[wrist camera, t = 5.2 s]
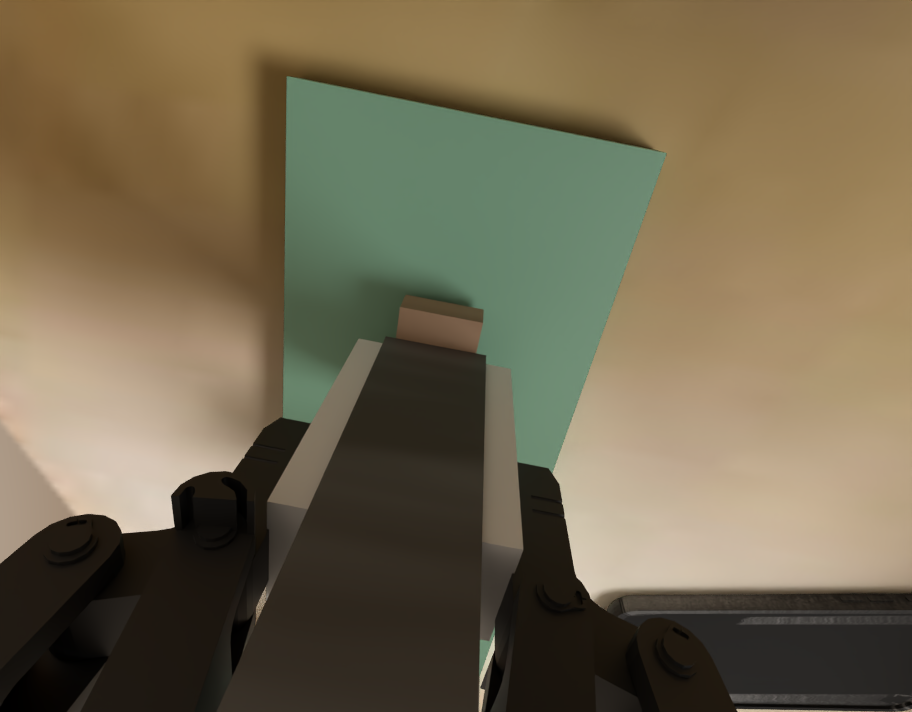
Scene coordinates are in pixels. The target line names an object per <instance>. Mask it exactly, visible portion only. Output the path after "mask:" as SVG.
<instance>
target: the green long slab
mask: <svg viewBox="0 0 912 712" xmlns="http://www.w3.org/2000/svg"><path fill="white" fill-rule="evenodd" d="M666 154H667V153H664V152H661V151H658V150H654V149H649V148H644V147H639V146H634V145H629V144H624V143H619V142H614V141H609V140H604V139H599V138H595V137H590V136H585V135H580V134H575V133H570V132H565V131H560V130H555V129H550V128H545V127H540V126H535V125H530V124H525V123H521V122H516V121H511V120H506V119H501V118H496V117H491V116H486V115H481V114H476V113H471V112H466V111H461V110H456V109H452V108H447V107H442V106H437V105H432V104H427V103H422V102H417V101H412V100H407V99H402V98H397V97H392V96H387V95H382V94H378V93H373V92H368V91H363V90H358V89H353V88H348V87H343V86H338V85H333V84H328V83H323V82H318V81H313V80H309V79H304V78H298V77H289V76H287V95H286V184H285V273H284V362H283V418H286V419H291V420H297V421H302V422H307V423H311V422H312V421H313V419H314V417H315V415H316V414H317V412H318V410H319V408H320V406H321V405H322V403H323V401H324V399H325V398H326V396H327V394H328V392H329V391H330V389H331V387H332V385H333V383H334V382H335V380H336V378H337V376H338V375H339V373H340V371H341V369H342V367H343V366H344V364H345V362H346V360H347V359H348V357H349V355H350V353H351V351H352V350H353V348H354V346H355V344H356V343H357V341H358V339H364V340H369V341H374V342H379V343H383V341H384V339H385V337H386V336H387V337H393V338H396V334H397V326H398V319H399V311H400V306H401V304H402V302H403V299H404V297H405V295H410V296H416V297H421V298H426V299H431V300H436V301H442V302H447V303H452V304H457V305H462V306H468V307H473V308H478V309H483V310H484V313H483V326H482V330H481V334H480V339H479V343H478V348H477V352H476V353H477V354H482V355H486V364H489V365H494V366H499V367H504V368H509V369H511V380H512V394H513V408H514V423H515V437H516V451H517V462H520V463H525V464H530V465H535V466H540V467H545V468H549V470H550V471H551V473H552V472H553V470H554V467H555V464H556V461H557V458H558V456H559V453H560V450H561V447H562V444H563V442H564V439H565V436H566V433H567V431H568V428H569V425H570V422H571V419H572V417H573V414H574V411H575V408H576V405H577V403H578V400H579V397H580V394H581V391H582V389H583V386H584V383H585V380H586V377H587V375H588V372H589V369H590V366H591V363H592V361H593V358H594V355H595V352H596V349H597V347H598V344H599V341H600V338H601V336H602V333H603V330H604V327H605V324H606V322H607V319H608V316H609V313H610V310H611V308H612V305H613V302H614V299H615V296H616V294H617V291H618V288H619V285H620V282H621V280H622V277H623V274H624V271H625V268H626V266H627V263H628V260H629V257H630V254H631V252H632V249H633V246H634V243H635V240H636V238H637V235H638V232H639V229H640V227H641V224H642V221H643V218H644V215H645V213H646V210H647V207H648V204H649V201H650V199H651V196H652V193H653V190H654V187H655V185H656V182H657V179H658V176H659V173H660V171H661V168H662V165H663V162H664V159H665V157H666ZM494 635H495V627H494V630H493V633H492V635H491V638H490V641H486V640H480V662H479V682H480V674H481V671H482V668H483V665H484V662H485V660H486V657H487V654H488V651H489V649H490V646H491V643H492V640H493V637H494ZM478 712H479V707H478Z"/></svg>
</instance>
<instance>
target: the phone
mask: <svg viewBox="0 0 912 712" xmlns="http://www.w3.org/2000/svg"><path fill="white" fill-rule="evenodd" d="M607 612H609V613H611V614H613V615H615V616H617V617H619V618H621V619H623V620H625V621H627V622H629V623H631V624H633V625H635V626H637V627H639V626H640V625H641V624H642V623H643V622H645V621H646V620H647V619H650V618H659V617H661V618H665V619H668V620H672V621H675V622H677V623H678V624H680V625H682V626H683V627H685V628H686V629H688V630H690V631H691V632H692V633H693V634H694V635H695V636H696V637H697V638H698V639H699V640H700V641H701V642H702V643H703V645H704V646H705V648H706V649H707V651H708V652H709V654H710V656H711V657H712V659H713V661H714V663H715V665H716V667H717V670H718V672H719V674H720V676H721V678H722V680H723V682H724V684H725V687H726V689H727V691H728V693H729V695H730V697H731V699H732V701H733V704H734V706H735V708H736V709H777V710H831V711H885V712H896V711H905V710H910V709H912V594H767V595H633V596H625V597H622V598H619V599H617V600H615V601H614V602H612V603H611V604H610V605H609V607H608V609H607Z"/></svg>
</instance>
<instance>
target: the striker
mask: <svg viewBox="0 0 912 712" xmlns="http://www.w3.org/2000/svg"><path fill="white" fill-rule="evenodd" d="M483 313H484V310H483V309H478V308H473V307H468V306H462V305H457V304H452V303H447V302H442V301H436V300H431V299H426V298H421V297H416V296H410V295H405V297H404V299H403V302H402V304H401V306H400V311H399V319H398V326H397V334H396V338H393V337H387V336H386V337H385V339H384V341H383V344H382V346H381V348H380V350H379V352H378V355H377V357H376V359H375V361H374V364H373V366H372V368H371V370H370V372H369V375H368V377H367V379H366V381H365V383H364V386H363V388H362V390H361V392H360V395H359V397H358V399H357V401H356V403H355V406H354V408H353V410H352V412H351V415H350V417H349V419H348V421H347V423H346V426H345V428H344V430H343V432H342V434H341V437H340V439H339V441H338V443H337V446H336V448H335V450H334V452H333V454H332V457H331V459H330V461H329V463H328V465H327V468H326V470H325V472H324V474H323V477H322V479H321V481H320V483H319V485H318V488H317V490H316V492H315V494H314V497H313V499H312V501H311V503H310V505H309V508H308V510H307V512H306V514H305V516H304V519H303V521H302V523H301V525H300V528H299V530H298V532H297V534H296V536H295V539H294V541H293V543H292V545H291V547H290V550H289V552H288V554H287V556H286V559H285V561H284V563H283V565H282V567H281V570H280V572H279V574H278V576H277V579H276V581H275V583H274V585H273V587H272V590H271V592H270V594H269V596H268V598H267V601H266V603H265V605H264V607H263V610H262V612H261V614H260V616H259V618H258V621H257V623H256V625H255V627H254V629H253V632H252V634H251V636H250V638H249V641H248V643H247V645H246V647H245V649H244V652H243V654H242V656H241V658H240V661H239V663H238V665H237V667H236V669H235V672H234V674H233V676H232V678H231V680H230V683H229V685H228V687H227V689H226V692H225V694H224V696H223V698H222V700H221V703H220V705H219V707H218V709H217V711H216V712H478V707H479V662H480V616H481V571H482V525H483V480H484V434H485V388H486V355H482V354H477V353H476V352H477V348H478V343H479V339H480V334H481V330H482V326H483Z"/></svg>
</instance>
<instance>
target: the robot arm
mask: <svg viewBox="0 0 912 712" xmlns="http://www.w3.org/2000/svg"><path fill="white" fill-rule="evenodd" d="M382 344H383V343H379V342H374V341H369V340H364V339H358V341H357V343H356V344H355V346H354V348H353V350H352V351H351V353H350V355H349V357H348V359H347V360H346V362H345V364H344V366H343V367H342V369H341V371H340V373H339V375H338V376H337V378H336V380H335V382H334V383H333V385H332V387H331V389H330V391H329V392H328V394H327V396H326V398H325V399H324V401H323V403H322V405H321V406H320V408H319V410H318V412H317V414H316V415H315V417H314V419H313V421H312V422H311V423H307V422H302V421H297V420H291V419H286V418H279V419H278V420H276V421H275V422H273V423H272V424H270V425H268V426H267V427H265V428H264V429H263V430H262V432H261V433H260V434H259V436H258V437H257V439H256V440H255V442H254V443H253V446H251V447H250V449H249V450H248V452H247V453H246V454H245V457H244V459H242V460H241V462H240V463H239V465H238V466H237V467H236V469H235V470H234V472H233V473H231V472H227V471H223V472H209V473H205V474H202V475H199V476H195V477H193V478H191V479H190V480H188V481H186V482H185V483H183V484H181V485H180V486H179V487H178V488H177V489H176V491H175V492H174V493H173V494H172V495H171V499H172V508H173V516H174V525H175V527H174V528H171V529H165V530H159V531H148V532H135V533H123V534H122V532H121V530H120V528H119V526H118V524H117V522H116V521H114V520H112V519H110V518H108V517H106V516H104V515H94V514H85V515H79V516H73V517H69V518H66V519H64V520H61V521H58V522H56V523H53V524H51V525H49V526H48V527H46V528H45V529H43V530H42V531H40V532H38V533H37V534H36V535H34V536H33V537H32V538H30V539H29V540H28V541H27V542H26V543H25V544H23V545H22V546H21V547H20V548H19V549H17V550H16V551H15V552H14V553H13V554H11V555H10V556H9V557H8V558H7V559H5V560H4V561H3V562H2V563H1V564H0V712H216V711H217V709H218V707H219V705H220V703H221V700H222V698H223V696H224V694H225V692H226V689H227V687H228V685H229V683H230V680H231V678H232V676H233V674H234V672H235V669H236V667H237V665H238V663H239V661H240V658H241V656H242V654H243V652H244V649H245V647H246V645H247V643H248V641H249V638H250V636H251V634H252V632H253V629H254V627H255V620H256V606H257V604H258V602H259V600H260V597H261V595H262V593H263V591H264V589H265V587H266V601H267V598H268V596H269V594H270V592H271V590H272V587H273V585H274V583H275V581H276V579H277V576H278V574H279V572H280V570H281V567H282V565H283V563H284V561H285V559H286V556H287V554H288V552H289V550H290V547H291V545H292V543H293V541H294V539H295V536H296V534H297V532H298V530H299V528H300V525H301V523H302V521H303V519H304V516H305V514H306V512H307V510H308V508H309V505H310V503H311V501H312V499H313V497H314V494H315V492H316V490H317V488H318V485H319V483H320V481H321V479H322V477H323V474H324V472H325V470H326V468H327V465H328V463H329V461H330V459H331V457H332V454H333V452H334V450H335V448H336V446H337V443H338V441H339V439H340V437H341V434H342V432H343V430H344V428H345V426H346V423H347V421H348V419H349V417H350V415H351V412H352V410H353V408H354V406H355V403H356V401H357V399H358V397H359V395H360V392H361V390H362V388H363V386H364V383H365V381H366V379H367V377H368V375H369V372H370V370H371V368H372V366H373V364H374V361H375V359H376V357H377V355H378V352H379V350H380V348H381V346H382ZM494 627H495V651H494V654H493V656H492V659H491V661H490V664H489V666H488V669H487V672H486V674H485V677H484V679H483V682H482V685H481V687H480V688H481V689H484V690H485V693H484V699H483V706H482V712H737V710H736V708H735V706H734V704H733V701H732V699H731V697H730V695H729V693H728V691H727V689H726V687H725V684H724V682H723V680H722V678H721V676H720V674H719V672H718V670H717V667H716V665H715V663H714V661H713V659H712V657H711V656H710V654H709V652H708V651H707V649H706V648H705V646H704V645H703V643H702V642H701V641H700V640H699V639H698V638H697V637H696V636H695V635H694V634H693V633H692V632H691V631H690V630H688V629H686V628H685V627H683V626H682V625H680V624H678V623H677V622H675V621H672V620H668V619H665V618H661V617H659V618H650V619H647V620H646V621H645V622H643V623H642V624H641V625H640V626H639V627H637V626H635V625H633V624H631V623H629V622H627V621H625V620H623V619H621V618H619V617H617V616H615V615H613V614H611V613H609V612H607V611H606V610H604V609H602V608H601V607H599V606H598V605H597V604H596V603H595V602H593V601H592V600H591V599H590V596H589V593H588V592H587V590H586V589H585V587H584V585H583V584H582V582H581V581H580V580H578V579H577V578H576V575H575V571H574V566H573V560H572V555H571V549H570V543H569V538H568V532H567V526H566V520H565V519H564V509H563V505H562V498H561V492H560V486H559V483H558V482H557V480H556V479H555V477H554V476H553V474H552V473H551V471H550V470H549V468H545V467H540V466H535V465H530V464H525V463H520V462H517V451H516V437H515V423H514V408H513V394H512V380H511V369H509V368H504V367H499V366H494V365H489V364H486V388H485V434H484V480H483V525H482V571H481V616H480V640H486V641H490V638H491V635H492V633H493V630H494Z"/></svg>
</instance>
